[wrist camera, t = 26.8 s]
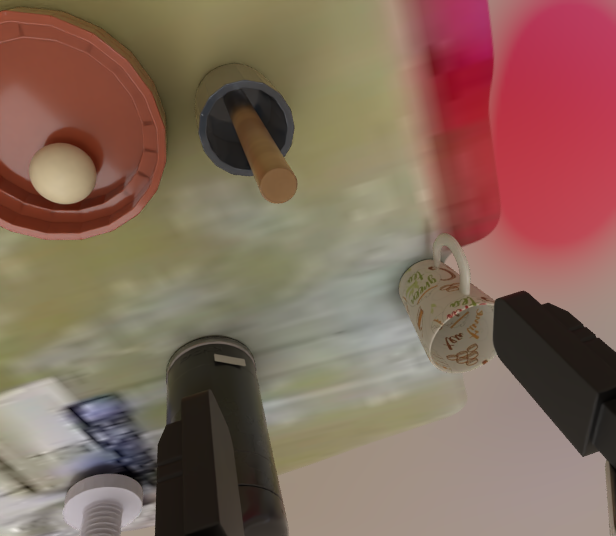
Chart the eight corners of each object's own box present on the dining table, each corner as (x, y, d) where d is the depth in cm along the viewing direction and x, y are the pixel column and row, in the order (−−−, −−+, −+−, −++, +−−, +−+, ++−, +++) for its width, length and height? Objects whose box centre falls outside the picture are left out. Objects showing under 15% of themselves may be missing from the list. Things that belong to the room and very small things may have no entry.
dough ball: (77, 162, 32) (33, 207, 32) (119, 182, 36) (80, 222, 36) (45, 120, 33) (3, 164, 33) (90, 144, 37) (52, 183, 37)
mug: (389, 320, 54) (429, 383, 45) (384, 224, 47) (429, 278, 39) (456, 302, 55) (507, 360, 46) (461, 205, 48) (521, 253, 40)
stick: (251, 105, 37) (304, 192, 23) (231, 116, 37) (270, 210, 23) (240, 84, 36) (287, 160, 21) (220, 95, 36) (252, 179, 22)
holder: (283, 135, 40) (301, 162, 34) (209, 155, 39) (215, 186, 33) (265, 54, 36) (282, 69, 30) (183, 74, 35) (185, 94, 30)
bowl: (192, 188, 40) (194, 208, 37) (11, 237, 39) (-5, 263, 35) (119, -16, 32) (113, -15, 28) (-116, 37, 30) (-153, 46, 27)
